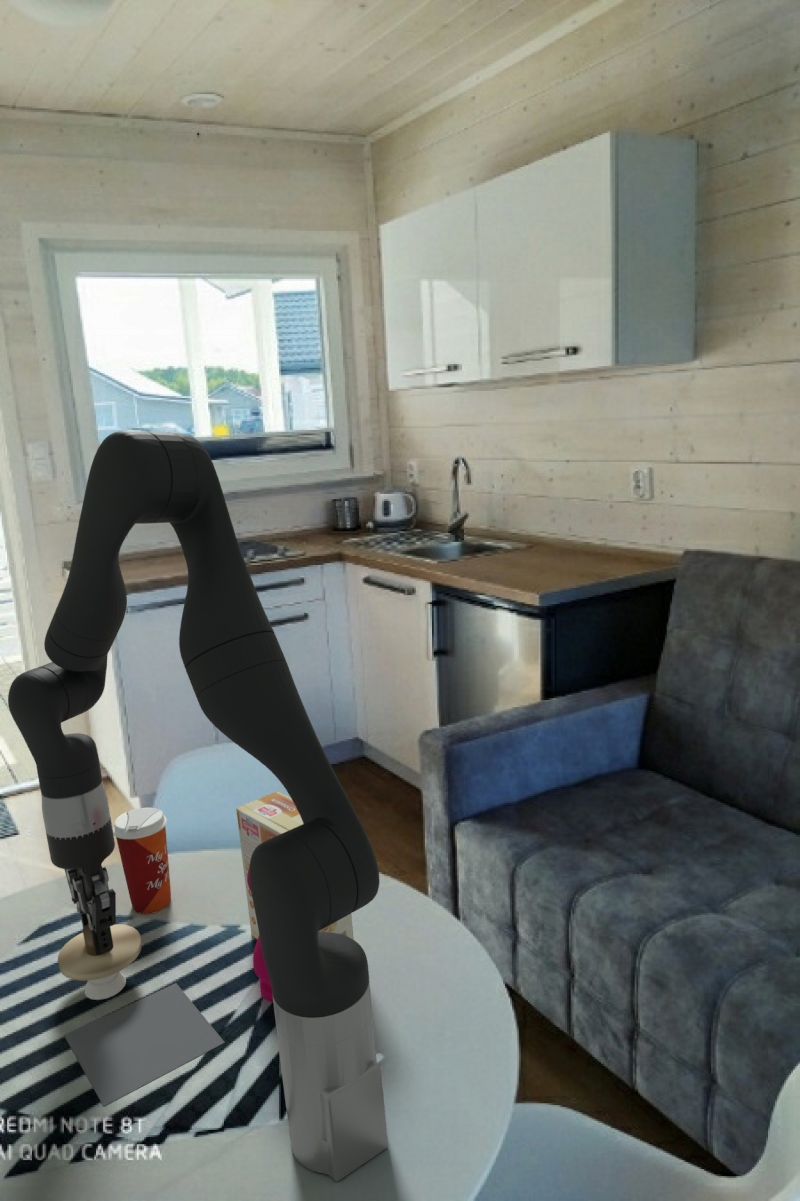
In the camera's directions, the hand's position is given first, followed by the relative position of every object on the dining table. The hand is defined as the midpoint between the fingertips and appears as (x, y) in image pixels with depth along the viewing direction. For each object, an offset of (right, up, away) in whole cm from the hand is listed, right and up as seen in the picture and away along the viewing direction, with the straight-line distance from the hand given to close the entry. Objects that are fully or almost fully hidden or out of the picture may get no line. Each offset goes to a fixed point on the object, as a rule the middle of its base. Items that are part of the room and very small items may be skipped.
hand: (99, 944), depth 112 cm
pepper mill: (+24, -5, -1) cm, 25 cm away
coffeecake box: (+25, -3, +7) cm, 26 cm away
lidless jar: (0, -7, +1) cm, 7 cm away
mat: (+8, -8, -9) cm, 15 cm away
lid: (0, -2, 0) cm, 2 cm away
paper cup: (+1, -2, +20) cm, 20 cm away
